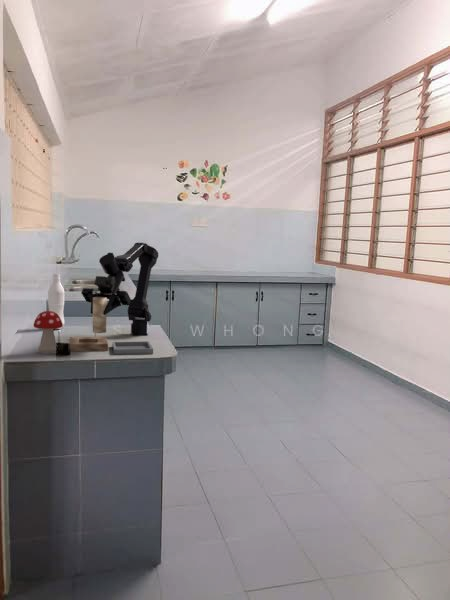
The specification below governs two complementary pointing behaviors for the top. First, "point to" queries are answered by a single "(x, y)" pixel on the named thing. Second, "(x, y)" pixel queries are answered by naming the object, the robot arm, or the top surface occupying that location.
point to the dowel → (99, 314)
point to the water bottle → (56, 297)
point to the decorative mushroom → (47, 330)
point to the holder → (88, 344)
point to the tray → (132, 348)
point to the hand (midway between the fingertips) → (97, 313)
